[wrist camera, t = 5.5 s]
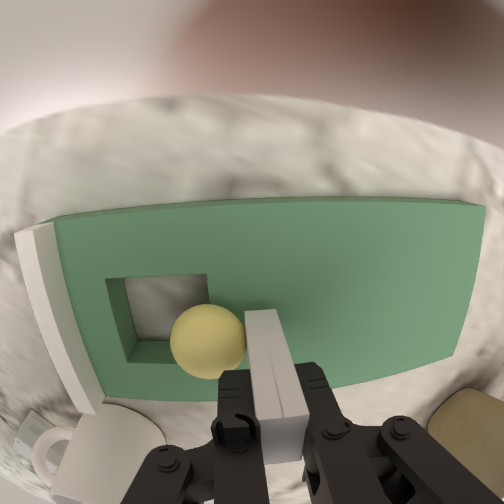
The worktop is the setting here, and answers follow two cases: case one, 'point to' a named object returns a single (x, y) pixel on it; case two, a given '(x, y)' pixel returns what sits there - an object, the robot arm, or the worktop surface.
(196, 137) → the worktop surface
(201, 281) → the worktop surface
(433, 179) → the worktop surface
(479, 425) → the plant pot
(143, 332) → the worktop surface
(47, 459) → the small box
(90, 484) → the mug
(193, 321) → the ball
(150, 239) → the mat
